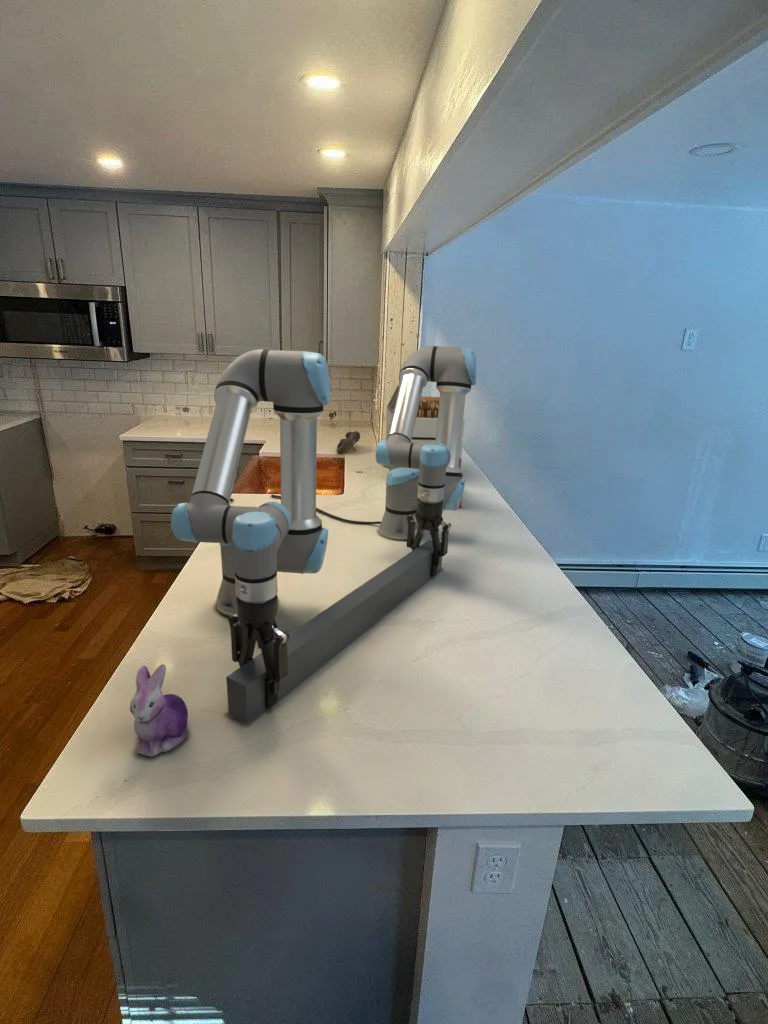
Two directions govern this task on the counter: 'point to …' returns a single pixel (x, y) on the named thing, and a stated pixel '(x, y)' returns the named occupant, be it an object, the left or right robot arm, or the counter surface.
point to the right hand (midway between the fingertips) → (425, 572)
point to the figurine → (157, 714)
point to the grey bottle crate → (422, 421)
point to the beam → (330, 631)
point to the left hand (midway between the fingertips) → (260, 699)
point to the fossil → (348, 442)
